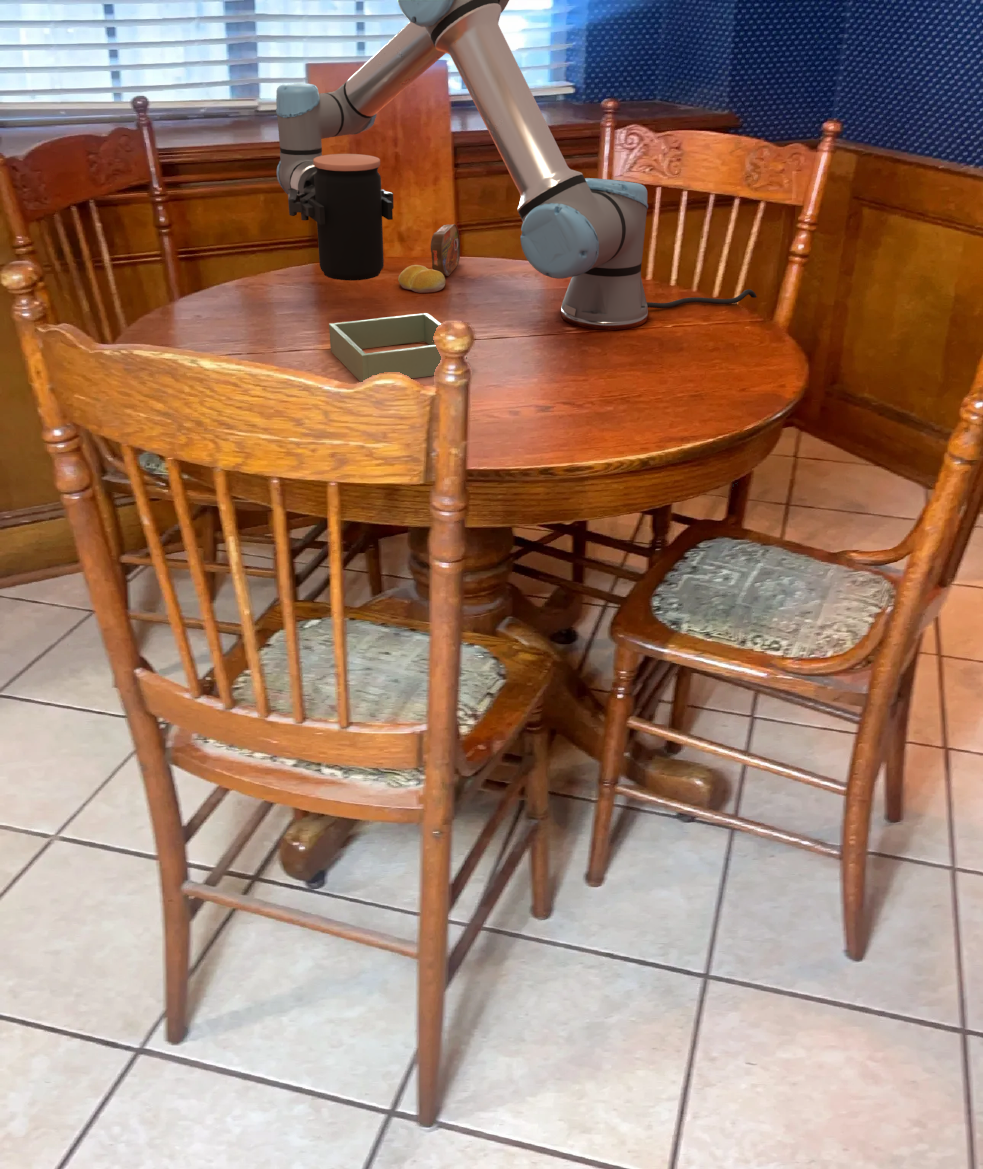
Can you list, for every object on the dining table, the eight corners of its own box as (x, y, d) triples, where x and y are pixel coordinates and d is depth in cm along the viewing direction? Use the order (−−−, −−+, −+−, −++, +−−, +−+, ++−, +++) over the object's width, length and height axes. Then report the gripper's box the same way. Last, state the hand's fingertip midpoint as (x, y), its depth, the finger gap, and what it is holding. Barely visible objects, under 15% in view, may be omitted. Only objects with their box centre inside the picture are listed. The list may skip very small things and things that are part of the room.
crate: (427, 339, 172) (427, 312, 169) (466, 371, 159) (467, 342, 156) (330, 351, 166) (328, 323, 163) (363, 385, 153) (362, 355, 150)
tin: (444, 280, 203) (443, 236, 199) (428, 279, 204) (428, 235, 200) (461, 262, 216) (461, 220, 212) (446, 261, 217) (446, 219, 212)
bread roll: (426, 296, 194) (426, 274, 192) (391, 287, 199) (391, 266, 197) (455, 287, 199) (455, 266, 197) (420, 279, 204) (420, 258, 202)
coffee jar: (396, 271, 176) (393, 158, 167) (357, 285, 168) (351, 167, 159) (347, 262, 181) (342, 151, 171) (306, 274, 173) (298, 160, 164)
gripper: (380, 206, 189) (424, 232, 172) (254, 214, 181) (287, 243, 164) (379, 162, 185) (423, 184, 168) (250, 169, 177) (283, 193, 160)
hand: (356, 213), depth 166 cm, fingers closed on coffee jar, 11 cm apart
